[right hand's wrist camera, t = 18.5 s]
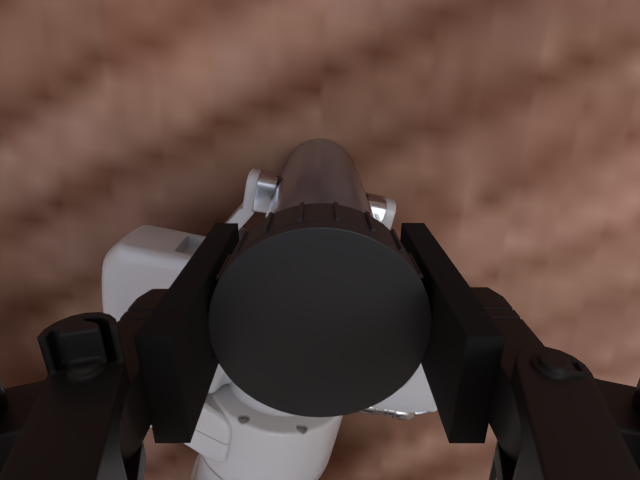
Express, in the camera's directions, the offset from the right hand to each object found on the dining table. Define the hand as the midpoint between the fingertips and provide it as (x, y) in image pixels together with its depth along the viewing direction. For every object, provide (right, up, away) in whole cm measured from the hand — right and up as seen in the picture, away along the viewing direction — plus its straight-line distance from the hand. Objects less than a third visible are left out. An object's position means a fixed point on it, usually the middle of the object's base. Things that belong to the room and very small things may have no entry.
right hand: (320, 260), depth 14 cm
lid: (0, -2, -4) cm, 4 cm away
